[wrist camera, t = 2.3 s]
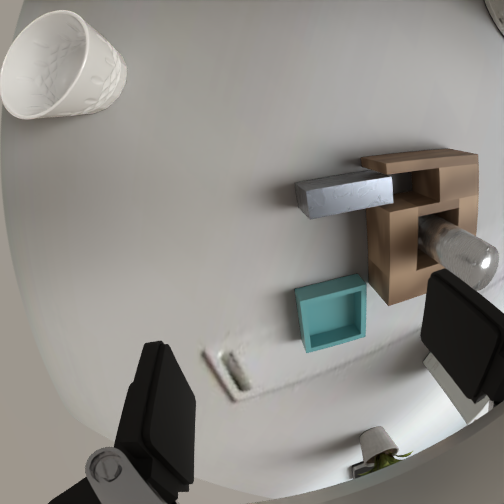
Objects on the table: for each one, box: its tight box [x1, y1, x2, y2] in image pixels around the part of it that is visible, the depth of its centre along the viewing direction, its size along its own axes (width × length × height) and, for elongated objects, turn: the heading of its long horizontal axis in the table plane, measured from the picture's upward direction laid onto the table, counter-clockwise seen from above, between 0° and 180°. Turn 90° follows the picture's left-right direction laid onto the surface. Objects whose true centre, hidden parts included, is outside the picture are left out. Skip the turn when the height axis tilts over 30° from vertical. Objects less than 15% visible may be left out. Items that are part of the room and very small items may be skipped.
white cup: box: [0, 10, 127, 119], centre depth 16 cm, size 8×8×10 cm
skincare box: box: [423, 352, 489, 425], centre depth 31 cm, size 8×6×15 cm
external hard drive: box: [352, 461, 374, 479], centre depth 53 cm, size 7×11×2 cm, turn 17°
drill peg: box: [418, 214, 499, 291], centre depth 24 cm, size 4×4×12 cm
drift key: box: [295, 170, 393, 219], centre depth 25 cm, size 2×8×4 cm, turn 101°
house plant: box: [359, 426, 413, 476], centre depth 39 cm, size 14×14×16 cm
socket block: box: [361, 149, 479, 306], centre depth 27 cm, size 14×12×5 cm
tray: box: [295, 274, 366, 353], centre depth 31 cm, size 7×7×2 cm
